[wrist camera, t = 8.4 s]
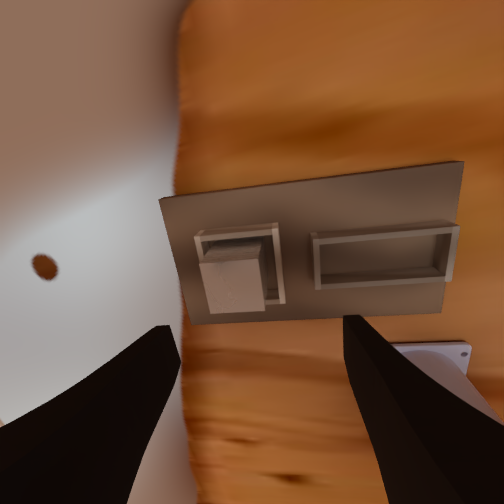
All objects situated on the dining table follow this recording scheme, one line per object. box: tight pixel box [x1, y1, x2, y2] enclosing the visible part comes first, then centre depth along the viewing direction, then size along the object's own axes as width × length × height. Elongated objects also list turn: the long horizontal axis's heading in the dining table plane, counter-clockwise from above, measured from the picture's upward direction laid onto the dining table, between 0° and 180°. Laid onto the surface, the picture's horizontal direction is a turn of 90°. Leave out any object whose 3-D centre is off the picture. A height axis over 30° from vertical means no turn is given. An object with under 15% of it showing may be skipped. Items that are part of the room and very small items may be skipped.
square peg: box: [199, 236, 268, 314], centre depth 17 cm, size 4×4×4 cm
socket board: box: [159, 161, 464, 325], centre depth 19 cm, size 11×20×2 cm, turn 98°
